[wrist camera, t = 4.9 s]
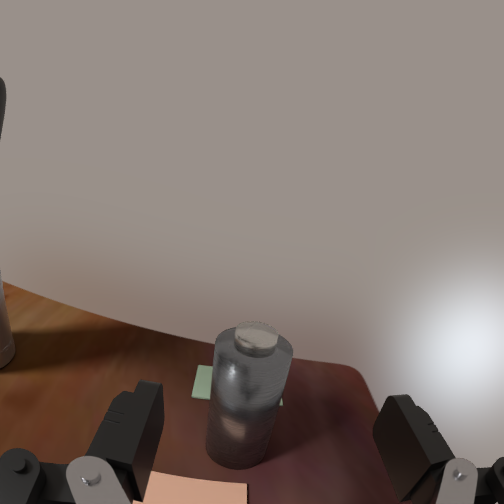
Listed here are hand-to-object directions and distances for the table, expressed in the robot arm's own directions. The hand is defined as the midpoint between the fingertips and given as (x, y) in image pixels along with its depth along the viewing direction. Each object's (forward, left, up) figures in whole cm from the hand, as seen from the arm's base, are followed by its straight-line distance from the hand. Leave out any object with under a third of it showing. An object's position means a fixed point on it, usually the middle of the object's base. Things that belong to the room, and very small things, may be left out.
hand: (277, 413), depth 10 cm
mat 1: (-4, +4, -16) cm, 17 cm away
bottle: (0, +11, -16) cm, 20 cm away
